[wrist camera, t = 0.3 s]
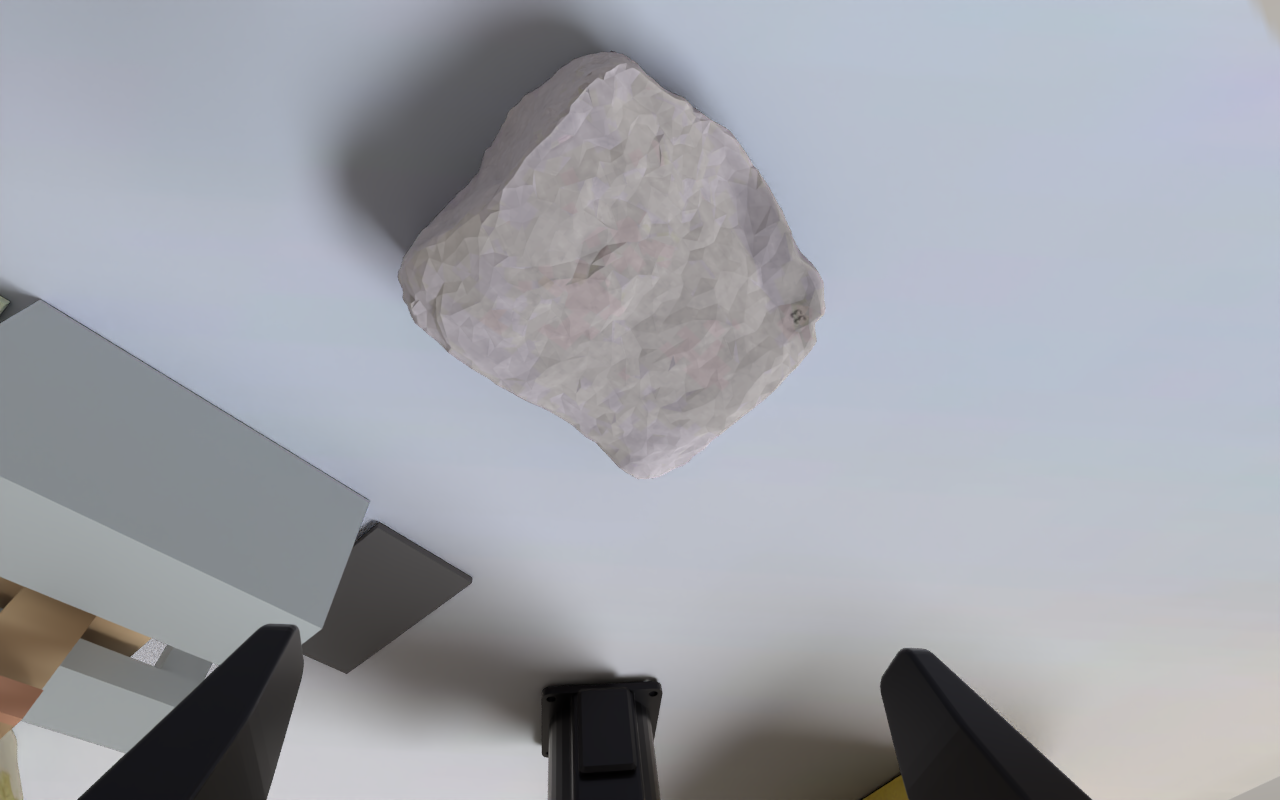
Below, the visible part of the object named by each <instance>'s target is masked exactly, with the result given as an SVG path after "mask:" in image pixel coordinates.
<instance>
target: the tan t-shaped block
mask: <svg viewBox="0 0 1280 800" xmlns="http://www.w3.org/2000/svg"><path fill="white" fill-rule="evenodd" d="M0 608H3V610H2V611H1V612H0V739H1V738H2V737H3V736H4V735H5V734H7V733H8V732H9V731H10V730H11V729H12V728H13V727H14V726H15V725H16V724H17V723H19V722H20V721H21V720H22V719H23V718H24V716H25V715H26V713H27V712H28V711H29V709H30V708H31V707H32V705H33V704H34V703H35V701H36V700H37V699H38V697H39V696H40V695H41V693H42V692H43V691H44V690H42V689H43V687H44V686H45V685H46V683H47V682H48V680H49V679H50V678H51V676H52V675H53V674H54V672H55V671H56V670H57V668H58V667H59V666H60V664H61V663H62V662H63V660H64V659H65V658H66V656H67V655H68V654H69V652H70V651H71V650H72V648H73V647H74V646H75V644H76V643H77V642H78V640H79V639H80V638H81V639H83V640H86V641H89V642H91V643H94V644H97V645H99V646H102V647H104V648H107V649H110V650H112V651H115V652H117V653H120V654H123V655H125V656H128V657H131V656H132V655H133V654H134V653H135V652H136V651H137V650H139V649H140V648H141V647H142V646H143V645H144V644H145V643H146V642H148V641H149V640H150V639H151V638H150V637H148V636H145V635H143V634H140V633H138V632H135V631H133V630H130V629H128V628H125V627H123V626H120V625H118V624H115V623H113V622H110V621H108V620H106V619H103V618H101V617H98V616H96V615H93V614H91V613H88V612H86V611H83V610H81V609H78V608H76V607H73V606H71V605H69V604H66V603H64V602H61V601H59V600H56V599H54V598H51V597H49V596H46V595H44V594H41V593H39V592H36V591H34V590H31V589H29V588H27V587H24V586H22V585H19V584H17V583H14V582H12V581H9V580H7V579H4V578H2V577H0Z"/></svg>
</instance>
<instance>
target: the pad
mask: <svg viewBox="0 0 1280 800" xmlns="http://www.w3.org/2000/svg"><path fill="white" fill-rule="evenodd" d="M9 303H10V301H8V300H6V299H5V298H3V297H1V296H0V315H1V313H2V312H3V311H4V309H5V308H6V307H7V305H8V304H9Z"/></svg>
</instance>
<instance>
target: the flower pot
mask: <svg viewBox="0 0 1280 800" xmlns="http://www.w3.org/2000/svg"><path fill="white" fill-rule="evenodd" d="M863 800H909V799H908V796H907V793H906V790H905V786H904V783H903V779H902V775H900V776H898V777H897V778H895V779H894V780H892V781H891V782H889V783H888V784H886V785H885V786H883V787H881V788H880V789H878V790H877V791H875V792H874V793H872V794H871V795H869V796H868V797H866V798H864V799H863Z"/></svg>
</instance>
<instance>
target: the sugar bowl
mask: <svg viewBox="0 0 1280 800" xmlns="http://www.w3.org/2000/svg"><path fill="white" fill-rule="evenodd" d="M0 800H23V793H22V787H21V781H20V775H19V769H18V763H17V741H16V737H15V735H14V733H13V731H12V729H11V730H10V731H9V732H8V733H7V734H5V735H4V736H3V737H2V738H1V739H0Z"/></svg>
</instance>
